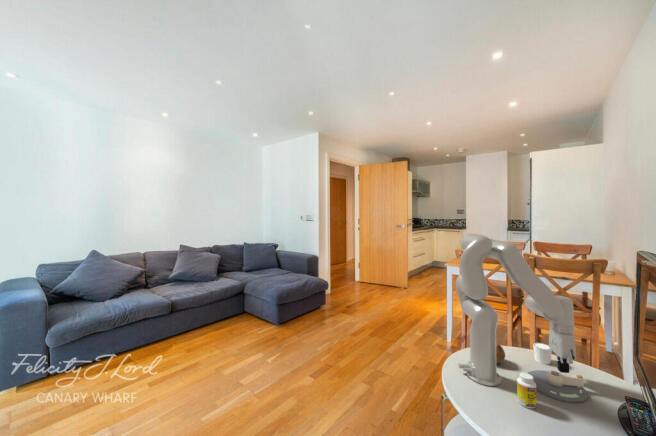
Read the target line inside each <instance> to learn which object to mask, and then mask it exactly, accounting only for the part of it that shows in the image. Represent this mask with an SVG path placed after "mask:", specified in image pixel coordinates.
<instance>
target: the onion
mask: <svg viewBox="0 0 656 436" xmlns="http://www.w3.org/2000/svg"><path fill="white" fill-rule="evenodd" d="M505 359H506V352H505V350H504V348H503V347H502V346H501V345H500V344H499V343H497V342H496V364H501V363H502V362H504V360H505Z"/></svg>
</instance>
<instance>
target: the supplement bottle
mask: <svg viewBox="0 0 656 436" xmlns="http://www.w3.org/2000/svg"><path fill="white" fill-rule="evenodd" d="M527 373H528V372H527ZM527 373H526V372H520V373H519V377H517V379H516V392H517V394H516V395H517V396H516V399H517V403H518V404H520V405H521V406H523V407H524V408H527V409H536V407H537V390H536V383H535V382H534V380H533V376H532V375H530V374H527Z"/></svg>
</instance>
